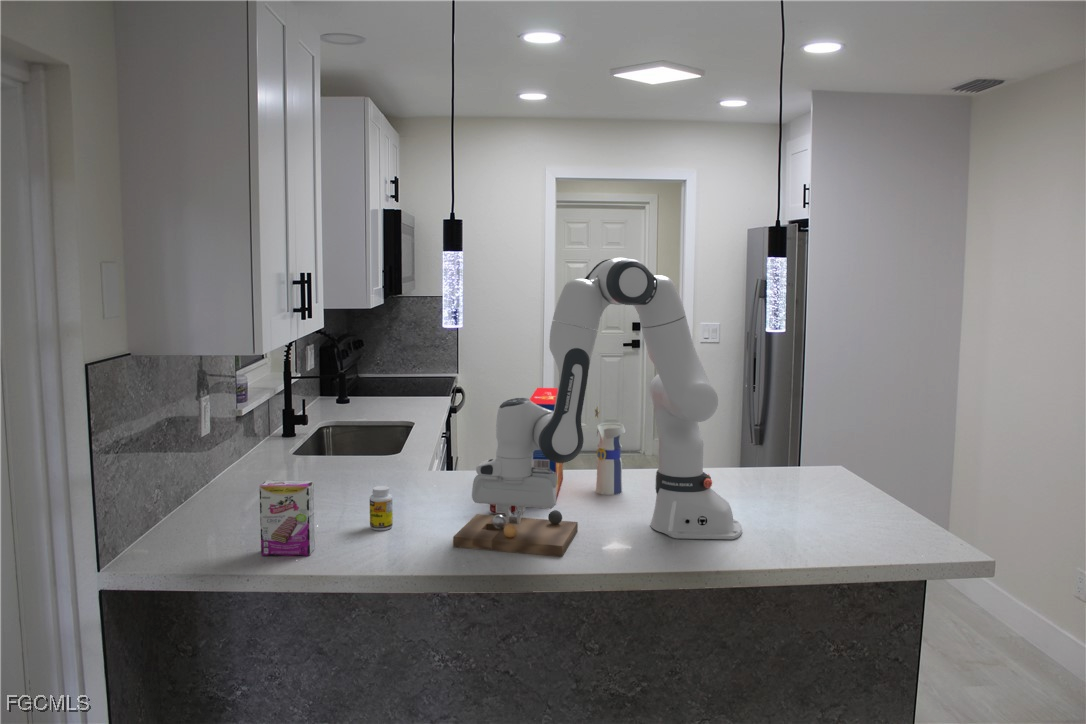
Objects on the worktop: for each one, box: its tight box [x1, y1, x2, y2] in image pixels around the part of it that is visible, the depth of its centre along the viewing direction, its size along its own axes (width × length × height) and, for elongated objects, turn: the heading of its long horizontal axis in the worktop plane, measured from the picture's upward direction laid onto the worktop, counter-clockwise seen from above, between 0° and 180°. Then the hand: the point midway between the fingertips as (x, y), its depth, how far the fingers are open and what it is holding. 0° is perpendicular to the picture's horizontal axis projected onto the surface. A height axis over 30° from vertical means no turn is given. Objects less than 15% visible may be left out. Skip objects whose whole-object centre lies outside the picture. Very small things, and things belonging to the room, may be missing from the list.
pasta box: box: [529, 387, 564, 506], centre depth 246 cm, size 28×8×28 cm, turn 174°
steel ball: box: [492, 514, 506, 529], centre depth 206 cm, size 3×3×3 cm
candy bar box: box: [259, 480, 316, 557], centre depth 194 cm, size 11×5×16 cm, turn 92°
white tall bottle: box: [594, 406, 626, 496], centre depth 245 cm, size 8×9×25 cm
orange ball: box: [504, 525, 517, 538], centre depth 198 cm, size 3×3×3 cm
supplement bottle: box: [369, 485, 394, 532], centre depth 212 cm, size 6×6×10 cm
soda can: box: [489, 504, 517, 516], centre depth 225 cm, size 7×7×12 cm
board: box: [452, 513, 579, 557], centre depth 205 cm, size 26×18×2 cm
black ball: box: [547, 509, 563, 524], centre depth 209 cm, size 3×3×3 cm
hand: (513, 523), depth 205 cm, fingers closed
